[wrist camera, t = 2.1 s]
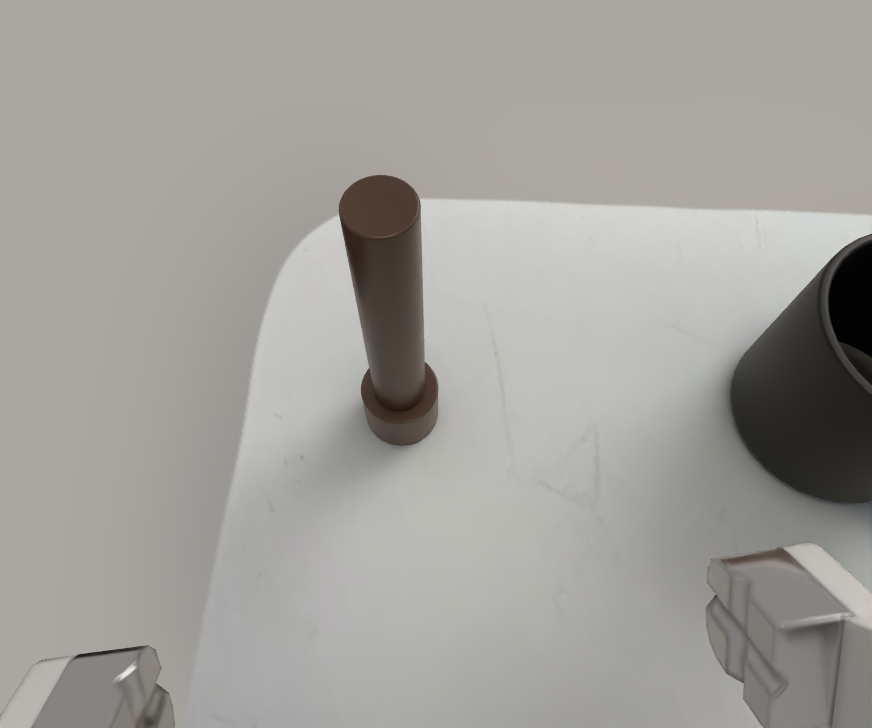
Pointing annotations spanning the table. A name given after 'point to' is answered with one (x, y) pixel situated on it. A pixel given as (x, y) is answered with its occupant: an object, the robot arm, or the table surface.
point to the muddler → (390, 306)
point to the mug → (815, 384)
